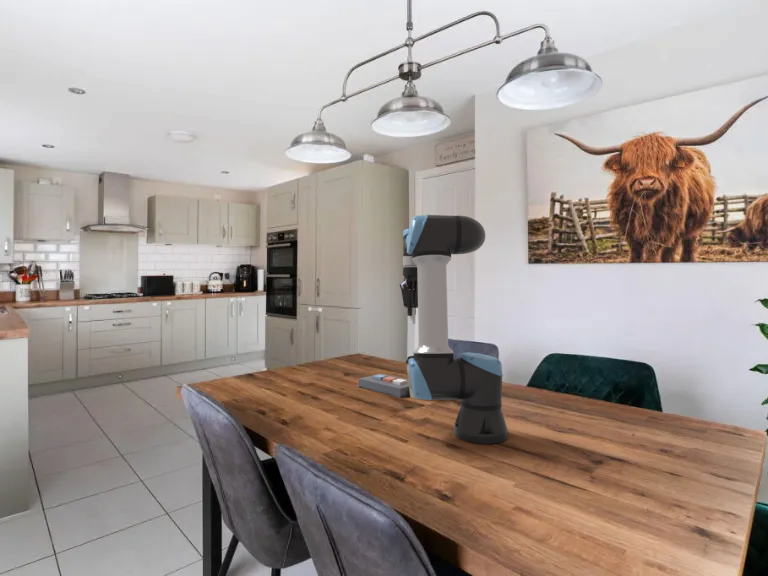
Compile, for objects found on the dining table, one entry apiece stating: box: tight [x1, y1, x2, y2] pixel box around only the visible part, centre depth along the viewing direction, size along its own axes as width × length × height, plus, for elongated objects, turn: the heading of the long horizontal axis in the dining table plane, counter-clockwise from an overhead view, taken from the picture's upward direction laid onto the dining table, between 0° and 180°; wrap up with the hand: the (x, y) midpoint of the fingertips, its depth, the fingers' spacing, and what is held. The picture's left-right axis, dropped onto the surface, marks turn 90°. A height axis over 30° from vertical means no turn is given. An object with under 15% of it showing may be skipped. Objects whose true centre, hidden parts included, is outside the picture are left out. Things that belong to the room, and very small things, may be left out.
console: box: [358, 373, 410, 399], centre depth 176 cm, size 13×23×4 cm, turn 46°
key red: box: [383, 376, 397, 383], centre depth 176 cm, size 4×4×2 cm
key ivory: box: [393, 378, 408, 385], centre depth 172 cm, size 4×4×2 cm
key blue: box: [372, 373, 387, 380], centre depth 179 cm, size 4×4×2 cm
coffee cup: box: [405, 355, 418, 400], centre depth 165 cm, size 10×10×15 cm
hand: (411, 323), depth 180 cm, fingers closed
